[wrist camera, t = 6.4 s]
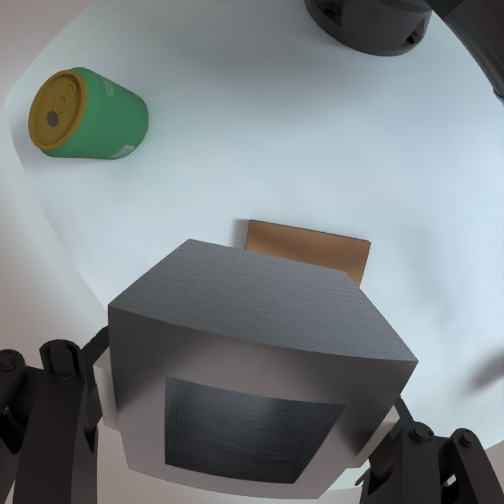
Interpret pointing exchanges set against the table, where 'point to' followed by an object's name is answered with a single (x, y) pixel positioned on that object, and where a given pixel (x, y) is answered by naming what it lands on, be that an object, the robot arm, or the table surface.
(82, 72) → the beverage can
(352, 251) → the post base
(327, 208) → the table surface
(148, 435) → the grey hollow square block
